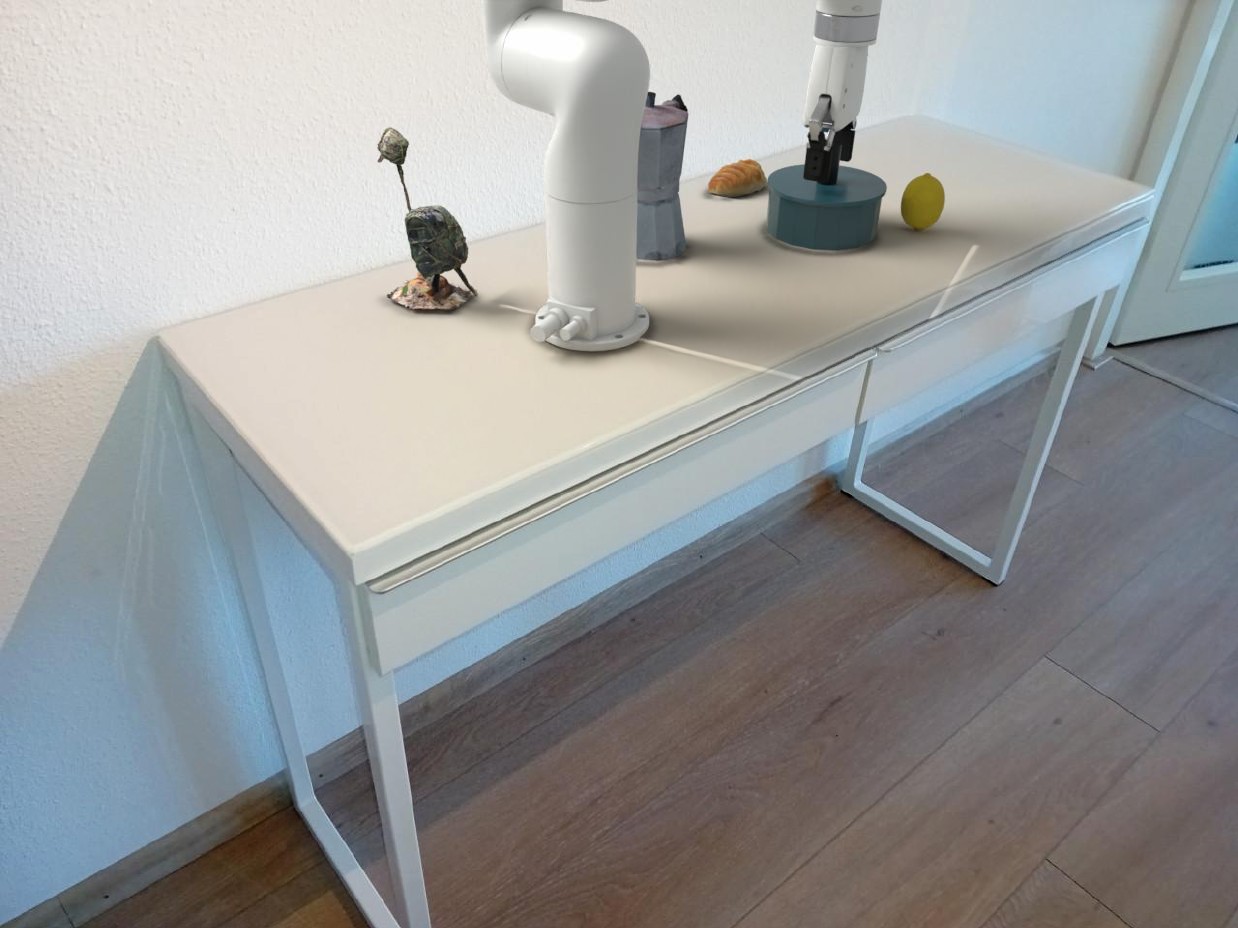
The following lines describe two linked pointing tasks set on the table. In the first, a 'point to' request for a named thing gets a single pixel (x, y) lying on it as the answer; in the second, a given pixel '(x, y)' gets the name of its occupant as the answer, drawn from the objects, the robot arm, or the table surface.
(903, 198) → the lemon
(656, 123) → the moka pot
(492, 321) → the table surface
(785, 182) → the lid
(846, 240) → the pot
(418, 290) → the stone sculpture
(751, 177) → the pastry
